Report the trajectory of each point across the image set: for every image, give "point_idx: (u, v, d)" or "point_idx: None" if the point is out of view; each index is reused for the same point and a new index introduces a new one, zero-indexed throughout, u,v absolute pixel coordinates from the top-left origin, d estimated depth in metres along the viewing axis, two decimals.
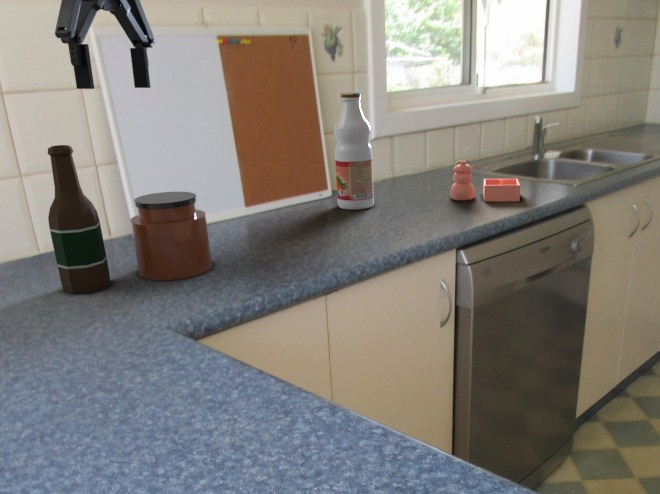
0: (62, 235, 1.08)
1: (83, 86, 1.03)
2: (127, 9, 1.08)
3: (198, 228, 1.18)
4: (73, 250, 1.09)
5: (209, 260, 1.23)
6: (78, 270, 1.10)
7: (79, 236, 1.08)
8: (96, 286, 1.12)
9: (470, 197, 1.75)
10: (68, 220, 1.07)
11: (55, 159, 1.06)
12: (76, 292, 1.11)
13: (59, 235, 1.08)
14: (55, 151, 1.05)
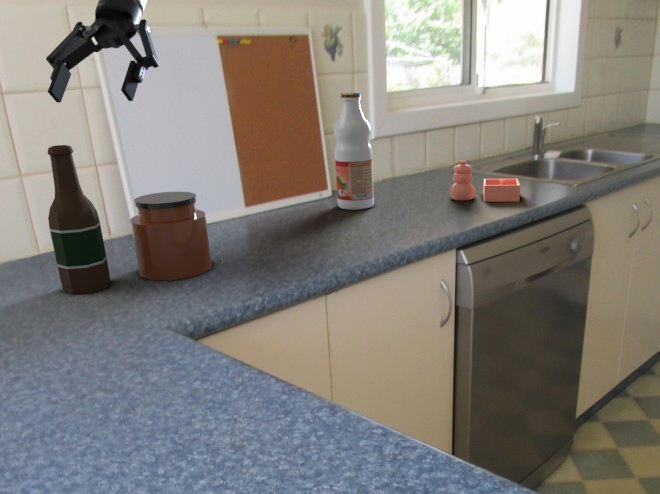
0: (62, 235, 1.08)
1: (129, 93, 1.13)
2: None
3: (198, 228, 1.18)
4: (73, 250, 1.09)
5: (209, 260, 1.23)
6: (78, 270, 1.10)
7: (79, 236, 1.08)
8: (96, 286, 1.12)
9: (470, 197, 1.75)
10: (68, 220, 1.07)
11: (55, 159, 1.06)
12: (76, 292, 1.11)
13: (59, 235, 1.08)
14: (55, 151, 1.05)
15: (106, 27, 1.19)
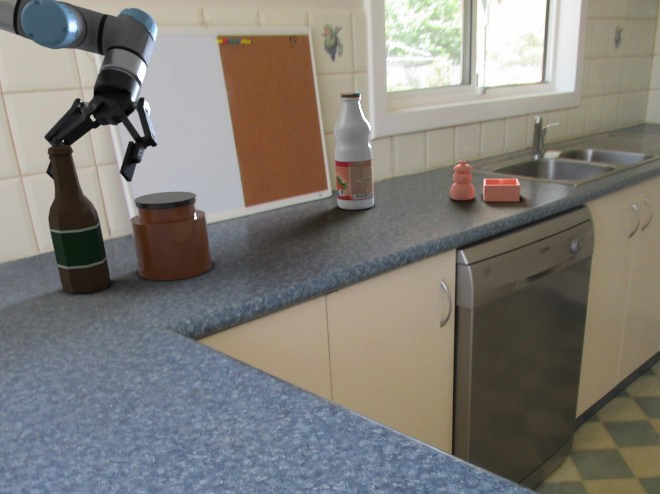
0: (62, 235, 1.08)
1: (127, 175, 1.13)
2: None
3: (198, 228, 1.18)
4: (73, 250, 1.09)
5: (209, 260, 1.23)
6: (78, 270, 1.10)
7: (79, 236, 1.08)
8: (96, 286, 1.12)
9: (470, 197, 1.75)
10: (68, 220, 1.07)
11: (55, 159, 1.06)
12: (76, 292, 1.11)
13: (59, 235, 1.08)
14: (55, 151, 1.05)
15: (104, 105, 1.19)
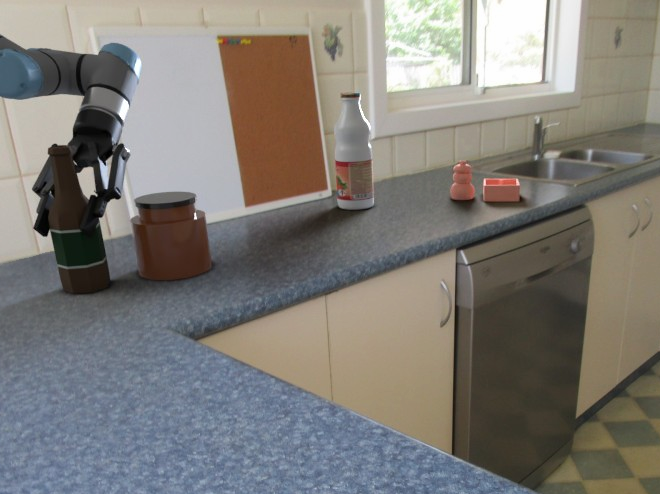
0: (62, 235, 1.08)
1: (88, 231, 1.08)
2: None
3: (198, 228, 1.18)
4: (73, 250, 1.09)
5: (209, 260, 1.23)
6: (78, 269, 1.10)
7: (79, 236, 1.08)
8: (96, 286, 1.12)
9: (470, 197, 1.75)
10: (68, 220, 1.07)
11: (55, 159, 1.06)
12: (76, 292, 1.11)
13: (59, 235, 1.08)
14: (55, 151, 1.05)
15: (84, 145, 1.14)
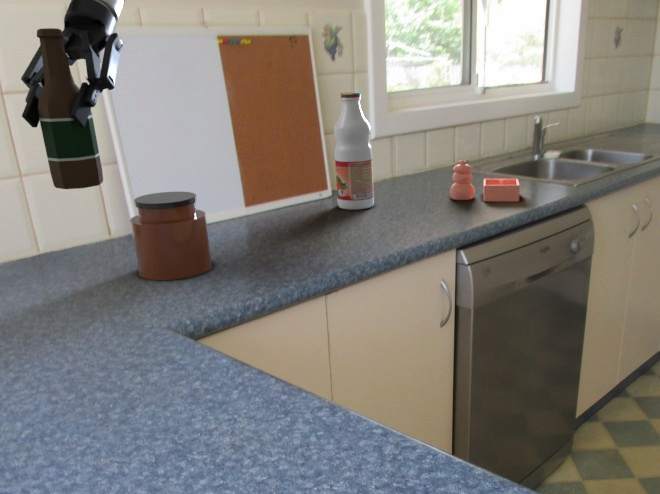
0: (52, 123, 1.03)
1: (80, 119, 1.02)
2: None
3: (198, 228, 1.18)
4: (64, 140, 1.04)
5: (209, 260, 1.23)
6: (69, 162, 1.05)
7: (70, 125, 1.03)
8: (88, 182, 1.07)
9: (470, 197, 1.75)
10: (59, 108, 1.02)
11: (44, 41, 1.01)
12: (67, 187, 1.06)
13: (49, 124, 1.03)
14: (44, 32, 1.00)
15: (76, 35, 1.09)
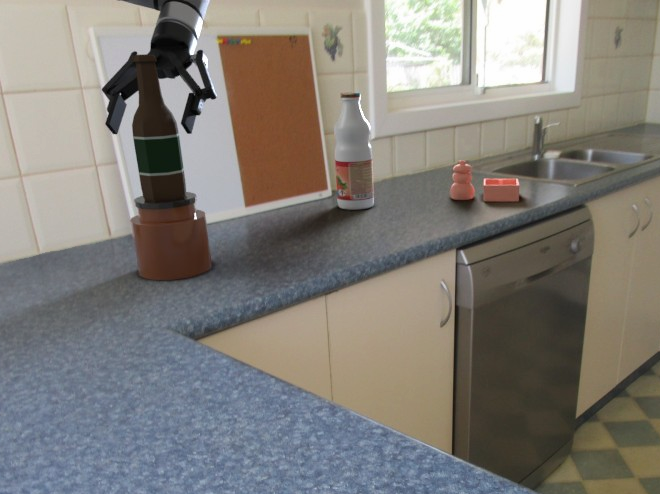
0: (146, 141, 1.12)
1: (188, 126, 1.11)
2: None
3: (198, 228, 1.18)
4: (156, 157, 1.13)
5: (209, 260, 1.23)
6: (160, 177, 1.14)
7: (162, 143, 1.12)
8: (175, 195, 1.16)
9: (470, 197, 1.75)
10: (152, 127, 1.11)
11: (141, 66, 1.10)
12: (156, 199, 1.15)
13: (142, 142, 1.12)
14: (141, 58, 1.09)
15: (162, 57, 1.17)
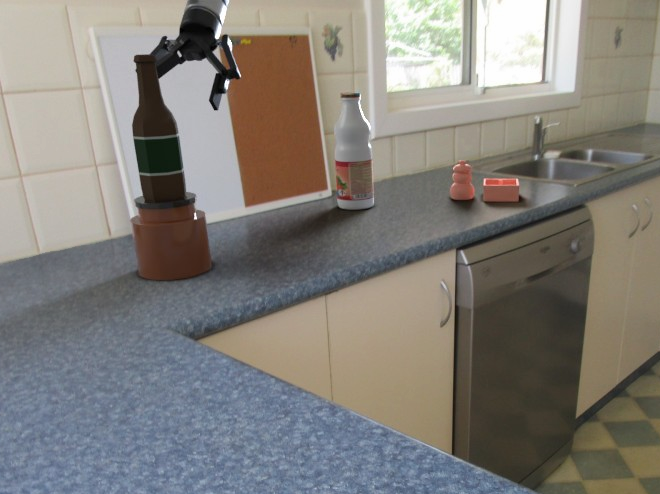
0: (146, 141, 1.12)
1: (215, 104, 1.22)
2: None
3: (198, 228, 1.18)
4: (156, 157, 1.13)
5: (209, 260, 1.23)
6: (160, 177, 1.14)
7: (162, 143, 1.12)
8: (175, 195, 1.16)
9: (469, 197, 1.75)
10: (152, 127, 1.11)
11: (141, 66, 1.10)
12: (156, 199, 1.15)
13: (142, 142, 1.12)
14: (141, 58, 1.09)
15: (190, 41, 1.28)
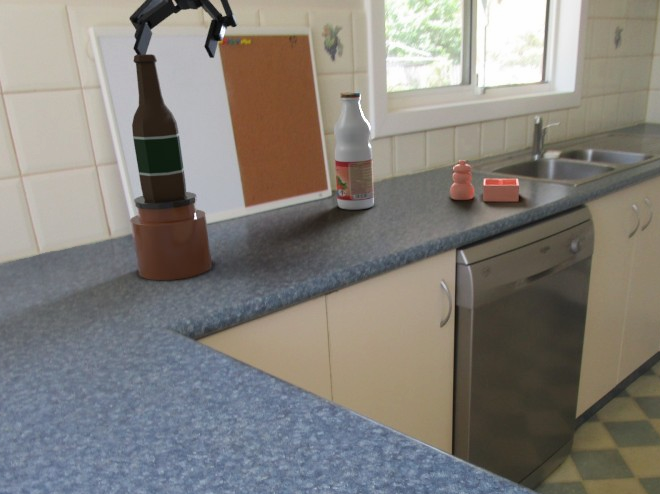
0: (146, 141, 1.12)
1: (211, 50, 1.19)
2: None
3: (198, 228, 1.18)
4: (156, 157, 1.13)
5: (209, 260, 1.23)
6: (160, 177, 1.14)
7: (162, 143, 1.12)
8: (175, 195, 1.16)
9: (469, 197, 1.75)
10: (152, 127, 1.11)
11: (141, 66, 1.10)
12: (156, 199, 1.15)
13: (142, 142, 1.12)
14: (141, 58, 1.09)
15: None
